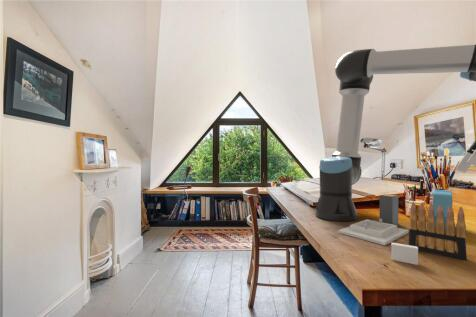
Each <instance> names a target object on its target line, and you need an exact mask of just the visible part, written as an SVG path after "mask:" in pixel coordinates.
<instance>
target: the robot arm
mask: <svg viewBox="0 0 476 317" xmlns="http://www.w3.org/2000/svg"><path fill="white" fill-rule="evenodd" d="M334 68H335V69H334V71H335V72H334V73H335V76H336V78H337V79H338V80H339V90H338V94H340V95H341V97H342V98H341V104H340V105H341V107H340V115H339V123H338V133H337V142H336V150H335V152H333V153H331V156H329V157H328V156H327V157H322V158H321V159H320V160H319V167H318V168H319V197H318V201H317V203H316V205H315V209H314V211H315V212H314V213H315V214H314V215H315V216H316V217H318V218H320V219H323V220H326V221H333V222H334V221H335V222H336V221H337V222H352V221H356V220H357V219H358V212H357V209H356V206H355V204H354V200H353V193H352V192H353V189H352V188H353V185H355V184H356V183H357V182H358V181H360V178H362V172H363V171H362V167H361V162H362V156H361V154H359V146H360V145H359V144H360V136H361V130H362V129H361V128H362V119H363V114H364V112H363V110H364V104H365V96H366V95H367V94H369V93H370V89H371V88H370V87H371V83H372V82H373V79H374V75H395V74H396V75H397V74H398V75H399V74H401V75H403V74H405V75H406V74H433V73H434V74H441V73H443V74H444V73H460V74H459V77H460V78H462V79H463V80H464V79H466V80H469V81H470V82H471V81H473V82H476V44H466V45H464V44H463V45H451V46H439V47H438V46H435V47H424V48H410V49H409V48H408V49H398V50H397V49H395V50H380V51H377V50H376V49H375V48H365V49H356V50H351V51H348V52H345V54H343V55H342V56H341V57H339V58H338V60H337V62H336V64H335V67H334ZM471 166H473V167H476V139H475V141H473V143H472V144H471V146H469V147H468V149H467V150H466V153H465V154H464V156H463V157H462V159H461V160H460V161H459V163H458V164H457V165H456V167H455V168H454V169H455V170H457V171H459V172H462V173H464V174H465V173H466V172H468V170H469V168H470V167H471Z"/></svg>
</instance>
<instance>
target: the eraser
mask: <svg viewBox="0 0 476 317" xmlns="http://www.w3.org/2000/svg"><path fill="white" fill-rule="evenodd" d="M390 250H391V257H390V258H391V259H390V260H391V261H396V262H402V263H406V264H412V265H418V266H419V251H418V247H416V246H410V245H409V244H405V243H404V244H403V243H397V242H391V249H390Z"/></svg>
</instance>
